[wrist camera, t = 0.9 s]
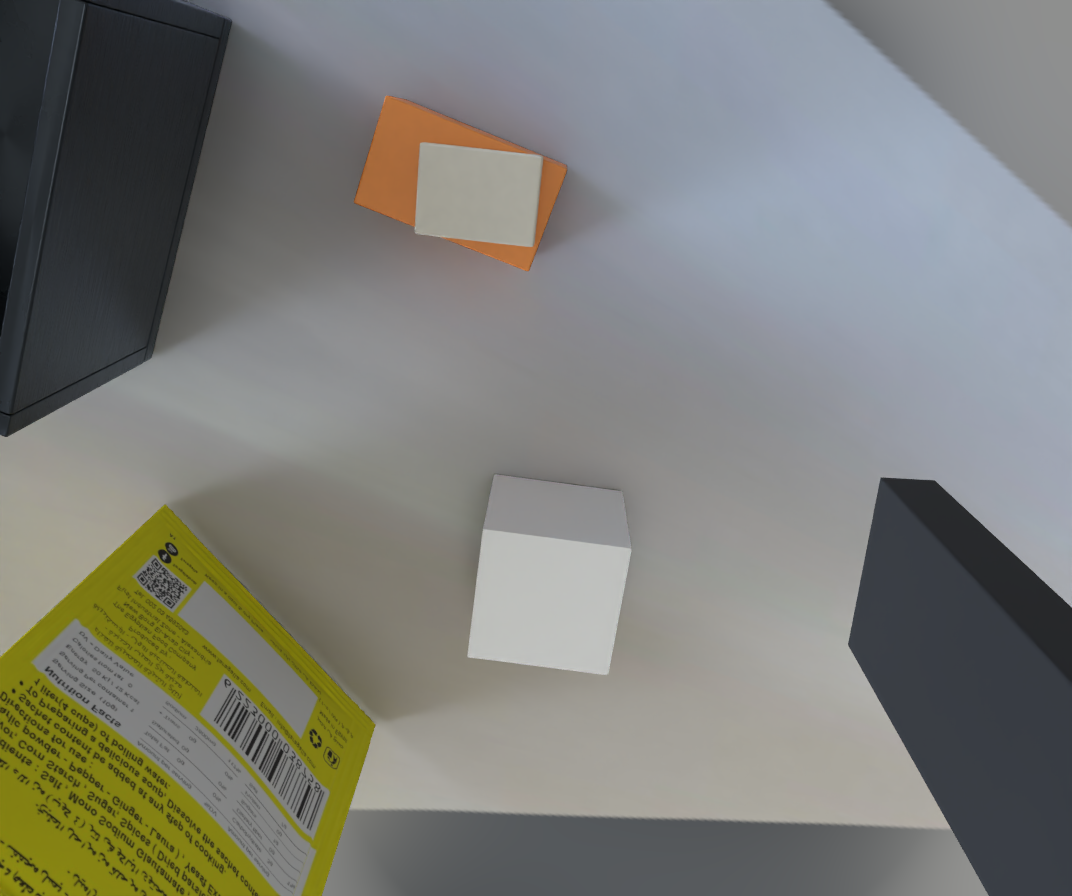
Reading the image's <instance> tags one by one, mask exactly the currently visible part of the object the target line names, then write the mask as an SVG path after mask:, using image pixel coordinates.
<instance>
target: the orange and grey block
mask: <svg viewBox="0 0 1072 896" xmlns="http://www.w3.org/2000/svg"><path fill="white" fill-rule="evenodd" d="M566 172H567V166H566V165H565V164H563V163H560V162H558V161H555V160H553V159H550V158H548V157H545V156H543V155H541V154H538V153H536V152H533V151H531V150H528V149H526V148H523V147H521V146H518V145H516V144H514V143H511V142H509V141H506V140H504V139H501V138H499V137H496V136H494V135H492V134H489V133H487V132H484V131H482V130H479V129H477V128H474V127H472V126H469V125H467V124H465V123H462V122H460V121H457V120H455V119H452V118H450V117H447V116H445V115H443V114H440V113H438V112H435V111H433V110H430V109H428V108H425V107H423V106H420V105H418V104H416V103H413V102H411V101H408V100H406V99H401V98H397V97H392V96H386V97H385V100H384V103H383V107H382V110H381V113H380V117H379V120H378V123H377V127H376V130H375V133H374V136H373V140H372V143H371V146H370V150H369V153H368V156H367V160H366V163H365V166H364V169H363V173H362V176H361V179H360V183H359V186H358V189H357V193H356V196H355V199H354V203H355V204H358V205H360V206H363V207H365V208H368V209H371V210H373V211H376V212H378V213H381V214H383V215H386V216H388V217H391V218H393V219H396V220H398V221H401V222H404V223H406V224H409V225H411V226H414V227H415V233H416V234H419V235H428V236H437V237H442V238H444V239H447V240H449V241H452V242H454V243H457V244H459V245H462V246H464V247H467V248H470V249H472V250H475V251H477V252H480V253H482V254H485V255H487V256H490V257H492V258H495V259H498V260H500V261H503V262H505V263H508V264H510V265H513V266H515V267H518V268H520V269H523V270H525V271H529V270H530V267H531V264H532V262H533V259H534V256H535V254H536V251H537V249H538V246H539V243H540V241H541V238H542V235H543V233H544V230H545V227H546V225H547V222H548V220H549V217H550V214H551V212H552V209H553V206H554V204H555V201H556V199H557V196H558V193H559V191H560V188H561V185H562V183H563V180H564V178H565V175H566Z"/></svg>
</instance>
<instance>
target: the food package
mask: <svg viewBox="0 0 1072 896" xmlns="http://www.w3.org/2000/svg"><path fill="white" fill-rule="evenodd" d="M374 728H375V724H374V723H373V722H372V720H371V719H370V718H369V717H368V716H367V715H366V714H365V713H364V711H362V710H361V709H360V708H359V706H358V705H357V704H356V703H355V702H353V701H352V700H351V699H350V698H349V697H348V696H347V695H346V694H345V693H344V692H343V691H342V690H341V688H340V687H339V686H338V685H337V684H336V683H335V682H334V681H333V680H332V679H331V678H330V677H329V676H328V675H327V674H326V673H325V671H324V670H323V669H322V668H321V667H320V666H319V665H318V664H317V663H316V662H315V661H314V660H313V659H312V658H311V657H310V656H309V655H308V654H307V652H306V651H305V650H304V649H303V648H302V647H301V646H300V645H299V644H298V643H297V642H296V641H295V640H294V639H293V638H292V637H291V636H290V635H289V634H288V633H287V632H286V630H285V629H284V628H283V627H282V626H281V625H280V624H279V623H278V622H277V621H276V620H275V619H274V618H273V617H272V616H271V615H270V614H269V613H268V612H267V611H266V610H265V608H264V607H263V606H262V605H261V604H260V603H259V602H258V601H257V600H256V599H255V598H254V597H253V596H252V595H251V594H250V593H249V592H248V591H247V590H246V589H245V588H244V586H243V585H242V584H241V583H240V582H239V581H238V580H237V579H236V578H235V577H234V576H233V575H232V574H231V573H230V572H229V571H228V570H227V569H226V568H225V567H224V566H223V565H222V564H221V563H220V562H219V561H218V560H217V558H216V557H215V556H214V555H213V554H212V553H211V552H210V551H209V550H208V549H207V548H206V547H205V546H204V545H203V544H202V543H201V542H200V541H199V540H198V539H197V538H196V536H195V535H194V534H193V533H192V532H191V531H190V530H189V528H188V527H187V526H186V525H185V524H184V523H183V522H182V521H181V520H180V519H179V518H178V517H177V516H176V515H175V514H174V512H173V511H172V510H170V509H169V508H168V507H167V506H166V505H164V506H163V507H161V509H159V510H158V511H157V512H156V513H155V514H154V515H153V516H152V517H151V518H150V519H149V520H148V521H147V522H145V523H144V524H143V525H142V526H141V527H140V528H139V529H138V530H137V531H136V532H135V533H134V534H133V535H131V536H130V537H129V538H128V539H127V540H126V541H125V542H124V543H123V544H122V545H121V546H120V547H118V548H117V549H116V550H115V551H114V552H113V553H112V554H111V555H110V556H109V557H108V558H107V559H106V560H104V561H103V562H102V563H101V564H100V565H99V566H98V567H97V568H96V569H95V570H94V571H93V572H91V573H90V574H89V575H88V576H87V577H86V578H85V579H84V580H83V581H82V582H81V583H80V584H79V585H77V586H76V587H75V588H74V589H73V590H72V591H71V592H70V593H69V594H68V595H67V596H66V597H65V598H63V599H62V600H61V601H60V602H59V603H58V604H57V605H56V606H55V607H54V608H53V609H52V610H51V611H49V612H48V613H47V614H46V615H45V616H44V617H43V618H42V619H41V620H40V621H39V622H38V623H36V624H35V625H34V626H33V627H32V628H31V629H30V630H29V631H28V632H27V633H26V634H25V635H24V636H22V637H21V638H20V639H19V640H18V641H17V642H16V643H15V644H14V645H13V646H12V647H11V648H10V649H8V650H7V651H6V652H5V653H4V654H3V655H2V656H1V657H0V896H322V893H323V890H324V887H325V883H326V880H327V877H328V874H329V871H330V867H331V865H332V861H333V858H334V855H335V852H336V849H337V846H338V842H339V839H340V836H341V833H342V830H343V827H344V823H345V820H346V817H347V814H348V811H349V808H350V805H351V801H352V798H353V795H354V792H355V789H356V786H357V783H358V780H359V776H360V773H361V770H362V767H363V764H364V761H365V758H366V754H367V751H368V748H369V744H370V740H371V737H372V734H373V731H374Z"/></svg>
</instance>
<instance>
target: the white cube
mask: <svg viewBox="0 0 1072 896" xmlns="http://www.w3.org/2000/svg"><path fill="white" fill-rule="evenodd" d="M631 550H632V547H631V541H630V535H629V529H628V523H627V517H626V511H625V505H624V499H623V493H622V491H617V490H610V489H602V488H595V487H587V486H580V485H572V484H565V483H557V482H550V481H542V480H535V479H527V478H520V477H512V476H505V475H497V474H494V477H493V482H492V487H491V492H490V497H489V502H488V507H487V512H486V517H485V522H484V526H483V533H482V541H481V549H480V557H479V566H478V574H477V582H476V590H475V598H474V606H473V615H472V623H471V631H470V639H469V647H468V655H467V657H471V658H478V659H486V660H494V661H502V662H509V663H517V664H525V665H532V666H540V667H548V668H555V669H563V670H571V671H579V672H586V673H594V674H602V675H608V673H609V667H610V662H611V657H612V651H613V646H614V641H615V635H616V630H617V625H618V619H619V614H620V609H621V603H622V598H623V593H624V587H625V582H626V577H627V571H628V566H629V561H630V555H631Z"/></svg>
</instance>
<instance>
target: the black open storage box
mask: <svg viewBox="0 0 1072 896" xmlns="http://www.w3.org/2000/svg"><path fill="white" fill-rule="evenodd" d="M231 23H232V20H231V19H229V18H226V17H224V16H221V15H219V14H216V13H214V12H212V11H209V10H207V9H204V8H202V7H199V6H197V5H194V4H192V3H190V2H187V1H185V0H0V435H2V436H5V437H8V436H10V435H11V434H13V433H15V432H17V431H19V430H21V429H22V428H24V427H26V426H28V425H30V424H32V423H33V422H35V421H37V420H39V419H41V418H43V417H44V416H46V415H48V414H50V413H52V412H54V411H55V410H57V409H59V408H61V407H63V406H65V405H67V404H68V403H70V402H72V401H74V400H76V399H78V398H79V397H81V396H83V395H85V394H87V393H89V392H90V391H92V390H94V389H96V388H98V387H100V386H101V385H103V384H105V383H107V382H109V381H111V380H112V379H114V378H116V377H118V376H120V375H122V374H124V373H125V372H127V371H129V370H131V369H133V368H135V367H136V366H138V365H140V364H142V363H143V362H145V361H147V360H149V359H151V356H152V352H153V348H154V344H155V340H156V336H157V331H158V327H159V323H160V319H161V315H162V310H163V306H164V302H165V298H166V294H167V290H168V285H169V281H170V277H171V273H172V269H173V265H174V260H175V256H176V252H177V248H178V244H179V240H180V235H181V231H182V227H183V223H184V219H185V215H186V210H187V206H188V202H189V198H190V194H191V190H192V185H193V181H194V177H195V173H196V169H197V164H198V160H199V156H200V152H201V148H202V144H203V139H204V135H205V131H206V127H207V123H208V119H209V114H210V110H211V106H212V102H213V98H214V94H215V89H216V85H217V81H218V77H219V73H220V69H221V64H222V60H223V56H224V52H225V48H226V44H227V39H228V35H229V31H230V27H231Z"/></svg>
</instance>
